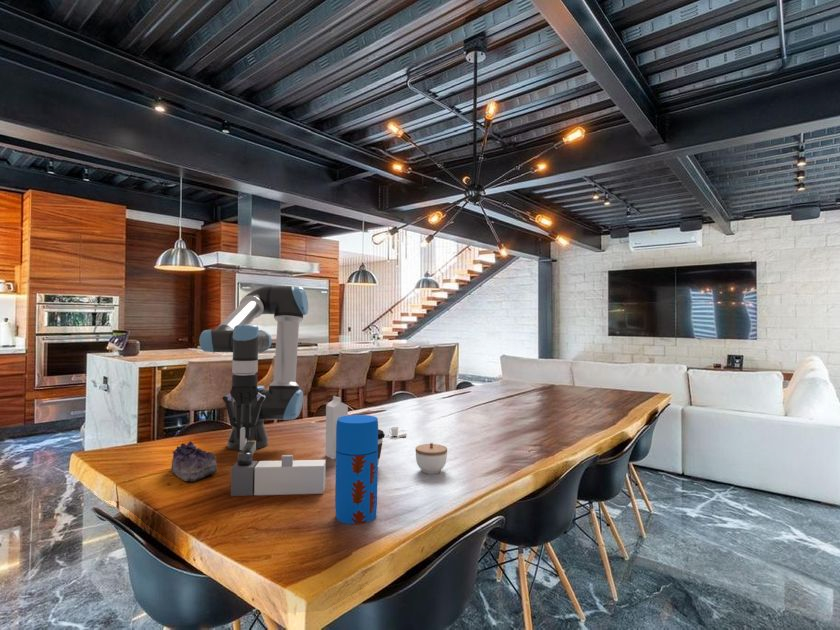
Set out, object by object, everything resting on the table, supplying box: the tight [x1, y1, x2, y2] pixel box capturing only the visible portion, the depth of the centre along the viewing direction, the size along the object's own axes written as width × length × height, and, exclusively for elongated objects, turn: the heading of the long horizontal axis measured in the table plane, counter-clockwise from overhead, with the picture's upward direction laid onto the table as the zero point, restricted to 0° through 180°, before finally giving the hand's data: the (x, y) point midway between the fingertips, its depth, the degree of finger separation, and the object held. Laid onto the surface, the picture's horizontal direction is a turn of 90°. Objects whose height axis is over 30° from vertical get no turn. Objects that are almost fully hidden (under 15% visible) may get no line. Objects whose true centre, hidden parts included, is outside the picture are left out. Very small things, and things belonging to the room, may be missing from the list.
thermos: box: [334, 414, 379, 525], centre depth 120 cm, size 11×11×25 cm
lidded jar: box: [415, 442, 448, 475], centre depth 157 cm, size 11×11×9 cm
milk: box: [325, 395, 349, 460], centre depth 172 cm, size 6×6×22 cm
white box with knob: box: [230, 454, 327, 497], centre depth 137 cm, size 6×26×11 cm, turn 96°
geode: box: [170, 441, 218, 483], centre depth 151 cm, size 20×12×10 cm, turn 49°
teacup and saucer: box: [388, 426, 407, 438], centre depth 203 cm, size 9×8×4 cm
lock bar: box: [237, 440, 257, 465], centre depth 142 cm, size 4×16×3 cm, turn 13°
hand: (243, 448), depth 146 cm, fingers closed
